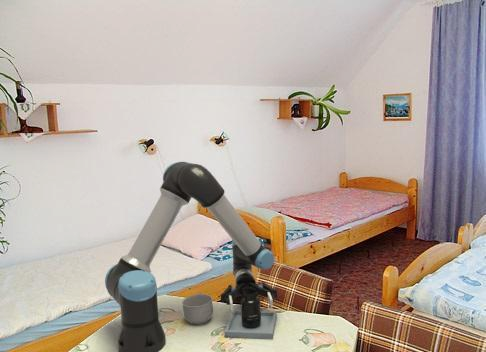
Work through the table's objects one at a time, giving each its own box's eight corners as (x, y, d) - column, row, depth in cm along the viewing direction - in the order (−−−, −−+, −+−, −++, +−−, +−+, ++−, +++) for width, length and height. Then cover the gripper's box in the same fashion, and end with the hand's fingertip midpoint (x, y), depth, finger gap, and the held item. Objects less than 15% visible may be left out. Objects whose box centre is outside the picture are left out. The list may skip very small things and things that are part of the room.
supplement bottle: (252, 330, 147) (250, 296, 146) (237, 325, 152) (235, 292, 151) (265, 323, 152) (264, 290, 151) (250, 318, 157) (249, 286, 156)
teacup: (208, 328, 153) (207, 306, 152) (179, 326, 155) (177, 305, 154) (218, 310, 166) (217, 290, 165) (191, 309, 168) (190, 289, 167)
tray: (224, 337, 146) (224, 331, 146) (233, 315, 161) (233, 310, 161) (272, 339, 143) (272, 333, 143) (276, 316, 159) (276, 311, 158)
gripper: (277, 288, 170) (288, 312, 149) (213, 293, 168) (215, 319, 147) (276, 270, 169) (287, 291, 148) (212, 275, 167) (214, 297, 146)
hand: (251, 305), depth 148 cm, fingers open, 13 cm apart
